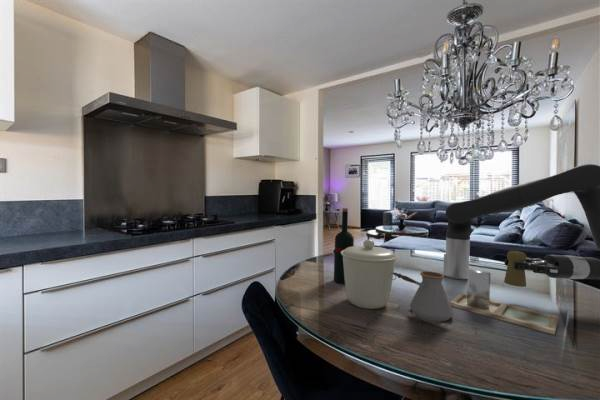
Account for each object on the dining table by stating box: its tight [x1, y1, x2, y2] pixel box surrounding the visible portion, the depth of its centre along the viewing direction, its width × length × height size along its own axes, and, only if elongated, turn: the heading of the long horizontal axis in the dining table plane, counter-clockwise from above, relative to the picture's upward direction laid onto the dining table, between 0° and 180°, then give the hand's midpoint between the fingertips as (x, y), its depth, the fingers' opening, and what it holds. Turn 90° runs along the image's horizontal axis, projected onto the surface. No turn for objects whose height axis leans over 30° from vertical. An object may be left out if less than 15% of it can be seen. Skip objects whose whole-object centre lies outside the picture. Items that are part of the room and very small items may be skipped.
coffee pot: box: [390, 270, 454, 325], centre depth 80 cm, size 21×12×15 cm, turn 115°
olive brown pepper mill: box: [503, 250, 527, 288], centre depth 93 cm, size 6×6×11 cm
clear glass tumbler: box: [466, 268, 492, 310], centre depth 88 cm, size 6×6×11 cm
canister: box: [341, 238, 398, 310], centre depth 92 cm, size 18×18×21 cm
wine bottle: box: [333, 207, 355, 285], centre depth 113 cm, size 8×10×30 cm
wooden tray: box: [449, 292, 559, 336], centre depth 84 cm, size 25×12×2 cm, turn 44°
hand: (509, 264), depth 94 cm, fingers closed on olive brown pepper mill, 4 cm apart
